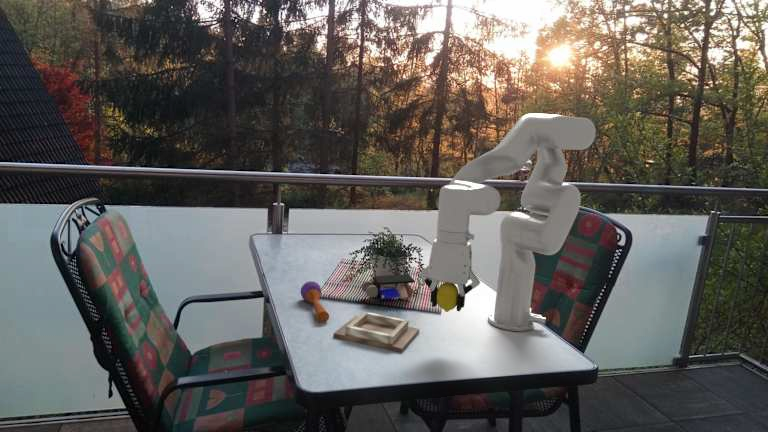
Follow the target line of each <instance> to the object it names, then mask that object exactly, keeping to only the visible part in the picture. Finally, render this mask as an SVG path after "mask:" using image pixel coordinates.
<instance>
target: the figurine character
mask: <svg viewBox="0 0 768 432" xmlns="http://www.w3.org/2000/svg"><path fill="white" fill-rule="evenodd" d="M372 278H373V280H372V281H371V280H364V281H363V282H362V283H361V287H360V288H361V289H362V291H363V292H364V293H366V295H367V296H368V299H369V300H370V302H372V303H375V302H376V303H377V302H380V301H382V300H387V299H388V300H389V299H395V298H399V299H400V300H402V301H407V300H409V299H411V297H412V296H413V288H412V287H411V285H409V284H413V283H415V282H416V281H415V279H414V278H413V277H412V276H411V275H410V274H409V273H405V274H390V275H389V274H388V275H375V276H373V277H372ZM384 285H398V286H397V287H389V288H382V289H381V286H384ZM371 299H373V300H371Z"/></svg>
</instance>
